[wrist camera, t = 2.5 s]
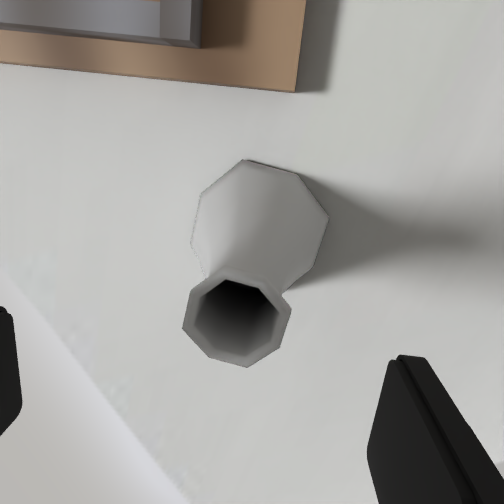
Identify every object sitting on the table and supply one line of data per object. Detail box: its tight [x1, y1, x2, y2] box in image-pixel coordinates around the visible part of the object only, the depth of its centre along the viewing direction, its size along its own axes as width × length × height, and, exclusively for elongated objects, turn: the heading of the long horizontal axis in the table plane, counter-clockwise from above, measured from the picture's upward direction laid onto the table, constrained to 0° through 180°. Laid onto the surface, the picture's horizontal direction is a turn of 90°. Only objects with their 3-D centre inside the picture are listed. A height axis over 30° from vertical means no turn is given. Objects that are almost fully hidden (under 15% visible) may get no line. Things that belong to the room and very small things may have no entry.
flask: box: [182, 159, 329, 368], centre depth 16 cm, size 7×7×10 cm
